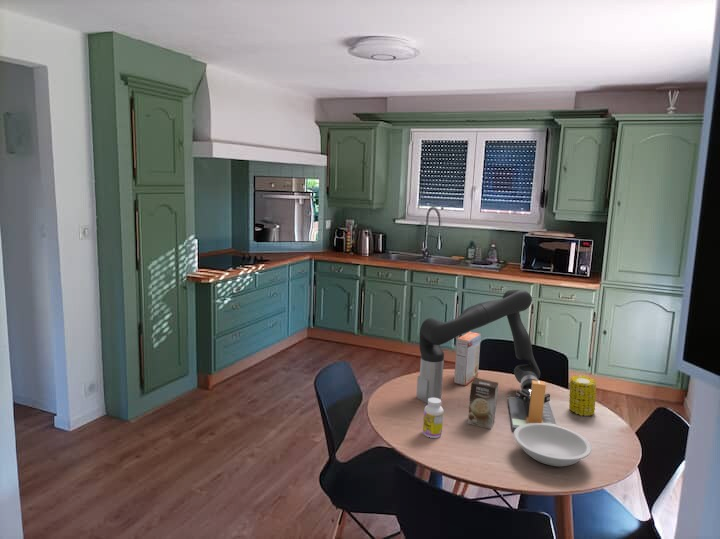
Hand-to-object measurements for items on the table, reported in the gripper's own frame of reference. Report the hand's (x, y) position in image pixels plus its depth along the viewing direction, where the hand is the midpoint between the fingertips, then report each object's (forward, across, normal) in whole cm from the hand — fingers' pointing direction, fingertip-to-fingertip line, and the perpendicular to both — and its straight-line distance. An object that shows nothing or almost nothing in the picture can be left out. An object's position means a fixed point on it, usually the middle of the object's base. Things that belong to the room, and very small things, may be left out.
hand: (535, 405), depth 191 cm
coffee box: (+3, -19, +9) cm, 21 cm away
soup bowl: (+22, +3, +9) cm, 24 cm away
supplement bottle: (+17, -36, +9) cm, 41 cm away
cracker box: (-39, -25, +9) cm, 47 cm away
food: (-19, +20, +9) cm, 29 cm away
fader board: (-8, 0, +8) cm, 11 cm away
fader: (+2, 0, +6) cm, 7 cm away
